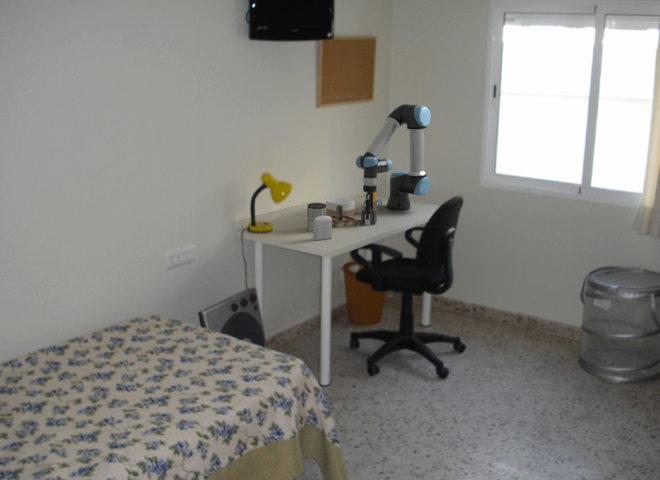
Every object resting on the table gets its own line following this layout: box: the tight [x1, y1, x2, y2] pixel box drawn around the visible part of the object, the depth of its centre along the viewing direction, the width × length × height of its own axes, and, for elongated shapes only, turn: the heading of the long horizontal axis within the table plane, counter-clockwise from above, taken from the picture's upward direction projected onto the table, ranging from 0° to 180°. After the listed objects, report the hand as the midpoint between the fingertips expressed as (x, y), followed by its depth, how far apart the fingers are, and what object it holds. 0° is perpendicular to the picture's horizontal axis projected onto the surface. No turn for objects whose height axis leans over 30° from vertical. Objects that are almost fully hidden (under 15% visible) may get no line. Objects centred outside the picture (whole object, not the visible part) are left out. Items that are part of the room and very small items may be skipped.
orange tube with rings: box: [362, 191, 383, 209], centre depth 406 cm, size 12×10×15 cm
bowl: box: [325, 196, 356, 217], centre depth 407 cm, size 17×17×8 cm
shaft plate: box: [330, 206, 358, 228], centre depth 384 cm, size 14×14×10 cm
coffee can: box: [306, 202, 327, 233], centre depth 369 cm, size 10×10×14 cm
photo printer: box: [312, 215, 333, 241], centre depth 352 cm, size 10×4×12 cm, turn 118°
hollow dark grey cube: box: [360, 206, 378, 226], centre depth 386 cm, size 8×8×8 cm
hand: (368, 222), depth 387 cm, fingers open, 11 cm apart
